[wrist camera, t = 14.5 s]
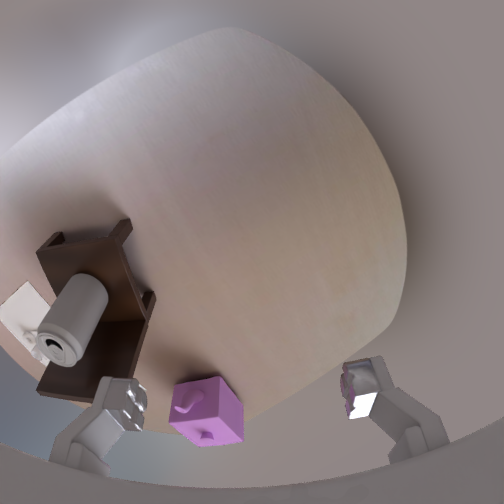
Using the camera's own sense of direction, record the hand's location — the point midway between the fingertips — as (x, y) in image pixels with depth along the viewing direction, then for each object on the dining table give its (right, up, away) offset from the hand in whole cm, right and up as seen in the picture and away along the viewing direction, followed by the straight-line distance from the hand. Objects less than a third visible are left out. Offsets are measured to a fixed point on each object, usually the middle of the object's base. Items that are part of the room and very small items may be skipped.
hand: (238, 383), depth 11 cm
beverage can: (-22, 0, +27) cm, 35 cm away
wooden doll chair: (-22, +3, +32) cm, 39 cm away
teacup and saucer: (-44, -12, +40) cm, 61 cm away
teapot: (-9, -23, +48) cm, 54 cm away
